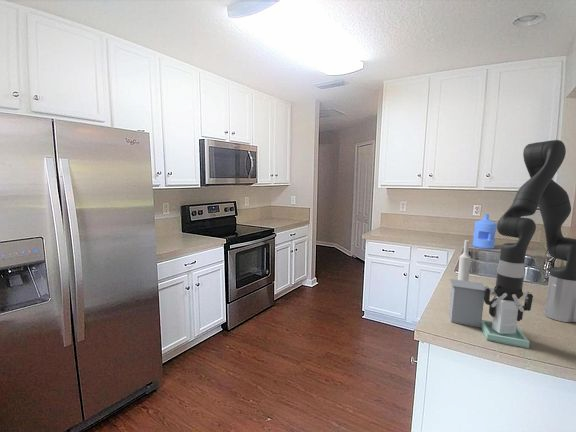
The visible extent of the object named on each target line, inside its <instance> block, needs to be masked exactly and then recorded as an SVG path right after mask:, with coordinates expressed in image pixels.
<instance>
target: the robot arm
mask: <svg viewBox="0 0 576 432" xmlns="http://www.w3.org/2000/svg"><path fill="white" fill-rule="evenodd" d="M566 150H567V148H566V145H565V143H564V142H563V141H562V140H559V139H552V140H546V141H538V142H533V143H532V142H531V143H528V144H527V145H526V146H525V147H524V149H523V152H522V153H523V154H522V155H523V162H524V165H525V167H526V170H527V173H528V176H529V177H530V178H529V179H528V180H527V181H525V182H524V183H523V184H522V185H521V186H520V188H519V189H518V190H517V192H516V193H515V197H514V199H513V201H512V203H511V205H510V206H509V207H508V209H507V210H506V211H505V212H504V213H503V214H502V215H501V217H500V218H499V219H498V221H497V223H496V224H497V228H496V231H497V233H498V234H500V235H501V236H504V237H512V238H517V239H518V240H517V241H516V242H506V243H502V244H501V246H500V253H499V254H500V255H499V262H498V263H497V264H498V265H497V269H496V281H495V286H494V287H489V286H488V285H487V286H484V287H485V293H484V304H486V305H488V306H489V309H488V313H489V315H490V317H491V318H493V317H494V315H495V306H496V305H497V304H498V303H500V300H509V301H515V303H516V304H517V306H518V308H519V309H518V318H517V322H520V321H522V320H523V317H524V312H526V311H527V312H530V311H531V309H532V305H533V304H532V303H533V298H534V295H533V293H532V292H530V291H527V292H525V291H523V287H524V286H523V284H524V277H525V271H526V270H525V269H526V268H525V262H526V254H527V250H528V247H529V245H530V242H531V240H532V238H533V236H534V235H535V233H536V230H537V226H536V222H535V221H534V220H533V219H532V218H528V216H529V217H530V216H532V215H534V214H535V213H536V211H537V209H538V208H539V209H538V210H539V212H540V215H541V219H542V224H543V227H544V233H545V241H546V248H547V253H548V254H549V256H550V257H552V258H553V259H555V260H556V259H557V260H561V261H564V262H566V264H565V265H564V266H555V267H551V268H550V270H549V277H548V281H547V282H548V283H547V284H548V285H547V290H546V297H545V306H544V311H543V314H544V316H546V318H549V319H552V320H556V321H558V322H564V323H576V238H571V237H565V236H563V231H562V226H563V224H564V223H565V222H566V221H567V219H568V218H569V216H570V214H571V212H572V205H571V201H570V196H569V194H568V193H567V191H566V190H565V189H564V188H563V187H562V186H561V185H559V184H558V183H557V182H556V181H555V180H553V178H554V177H555V175H556V174H557V172H558V170H559V169H560V167H561V165H562V164H563V161H564V160H565V157H566V153H567V151H566ZM493 292H494V293H495V295H494V296H493V298H492V299H491V295H492V294H493ZM495 297H498V298H497V299H496V298H495ZM522 297H523V298H524V304H523V305H522V303H521V302H520V300H519V299H520V298H522ZM490 299H491V300H490Z"/></svg>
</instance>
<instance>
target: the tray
mask: <svg viewBox="0 0 576 432" xmlns="http://www.w3.org/2000/svg"><path fill="white" fill-rule="evenodd" d="M480 328H481V331H482V332H483V334H484V337H485V339H486V341H490V342H494V343H499V344H504V345H510V346H516V347H521V348H525V349H526V348H527V349H529V348H530V343H531V342H530V340H529V339H528V338H527V336H526V335H525V333H524V332H523V331H522V330H521V328H520V326H518V325H517V327H516V333H515V334H500V333H498V332H497V331H495V330H494V329H492V321H490V320H484V319H482V322H481V327H480Z"/></svg>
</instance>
